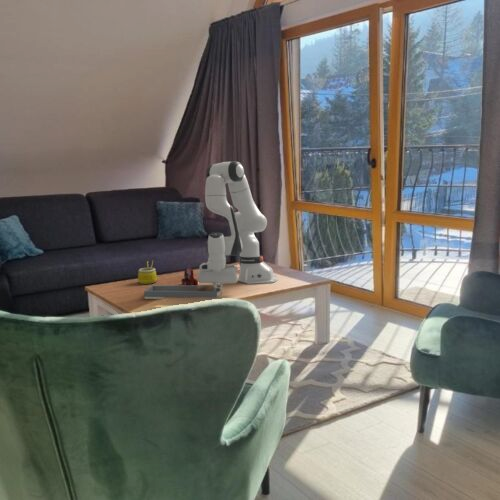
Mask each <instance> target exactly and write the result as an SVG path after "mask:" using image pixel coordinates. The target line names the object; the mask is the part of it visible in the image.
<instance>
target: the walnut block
mask: <svg viewBox="0 0 500 500" xmlns="http://www.w3.org/2000/svg"><path fill="white" fill-rule="evenodd" d="M197 286H198V287H197V288H196V290H197V291H214V286H213V284H209V285H207V284H198V285H197Z"/></svg>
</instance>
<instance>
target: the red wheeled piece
mask: <svg viewBox="0 0 500 500" xmlns="http://www.w3.org/2000/svg"><path fill="white" fill-rule="evenodd" d="M183 277H184V278H181V281H180V283H181V285H194V286H199V282H198V278H195V277H194V270H193V269H192V268H190V267H189V266H185V268H184V275H183Z"/></svg>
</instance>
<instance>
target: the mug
mask: <svg viewBox="0 0 500 500" xmlns="http://www.w3.org/2000/svg"><path fill="white" fill-rule="evenodd" d="M153 263H154V260H151V266H150V267H149V260H148V261H146V267H142V268H139V269H138V271H137V272H138V273H137V281H138V283H140V284H141V285H150V284H154V283H156V282H157V280H158V276H157V271H156V270H157V269H156V268H155V267H153Z"/></svg>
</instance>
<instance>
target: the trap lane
mask: <svg viewBox="0 0 500 500" xmlns="http://www.w3.org/2000/svg"><path fill="white" fill-rule="evenodd" d="M198 286H199V285H182V284H181V285H176V284H175V285H173V284H171V285H170V284H169V285H164V284H162V285H157V284H153V285H150V286H149V287H148V288H146V289H145V290H143V292H144V293H143V294H144V299H145V300H164V299H165V298H207V299H208V298H214V299H215V298H218V296H219V295H220V294H221V293H222V290H221V291H215V288H214V291H197V290H196V288H197V287H198ZM216 286H217V287H220V286H221V285H216Z"/></svg>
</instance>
